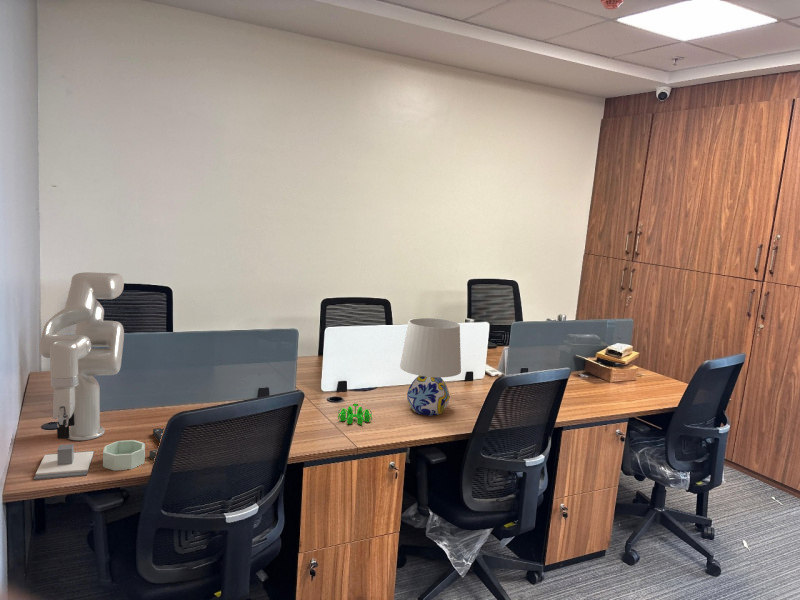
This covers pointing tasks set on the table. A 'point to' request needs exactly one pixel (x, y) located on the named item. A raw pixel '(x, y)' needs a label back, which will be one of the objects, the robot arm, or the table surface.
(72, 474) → the mat
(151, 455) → the multiport hub
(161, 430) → the disk drive
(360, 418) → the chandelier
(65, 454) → the lid
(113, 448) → the bowl
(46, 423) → the table surface
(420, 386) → the table lamp
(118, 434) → the table surface
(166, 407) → the table surface
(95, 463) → the table surface
